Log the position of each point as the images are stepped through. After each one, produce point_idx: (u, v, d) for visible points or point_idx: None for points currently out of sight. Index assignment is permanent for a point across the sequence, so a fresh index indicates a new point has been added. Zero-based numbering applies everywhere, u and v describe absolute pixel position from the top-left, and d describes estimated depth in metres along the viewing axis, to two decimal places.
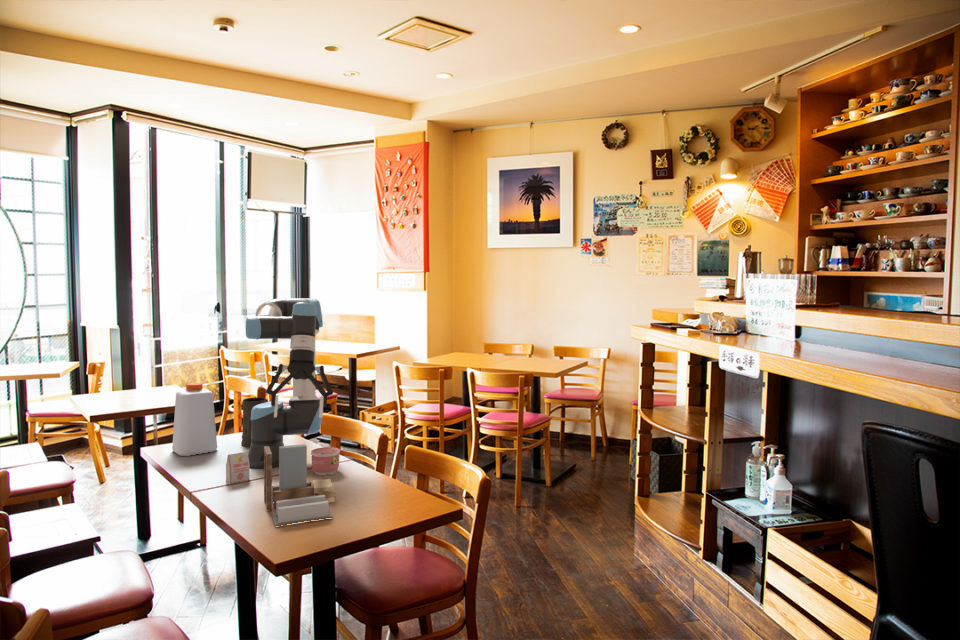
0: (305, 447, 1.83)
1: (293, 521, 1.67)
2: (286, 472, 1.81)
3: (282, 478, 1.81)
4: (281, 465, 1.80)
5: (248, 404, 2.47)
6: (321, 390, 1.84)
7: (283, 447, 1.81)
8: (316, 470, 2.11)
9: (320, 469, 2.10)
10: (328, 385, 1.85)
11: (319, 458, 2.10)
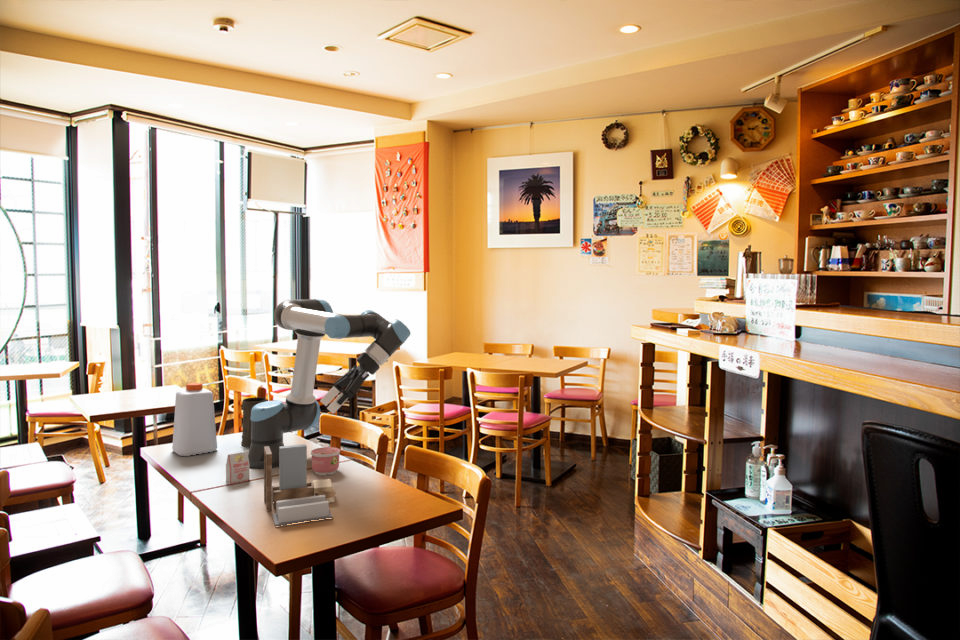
0: (305, 447, 1.83)
1: (293, 521, 1.67)
2: (286, 472, 1.81)
3: (282, 478, 1.81)
4: (281, 465, 1.81)
5: (248, 404, 2.47)
6: None
7: (283, 447, 1.81)
8: (316, 470, 2.11)
9: (320, 469, 2.10)
10: None
11: (319, 458, 2.10)
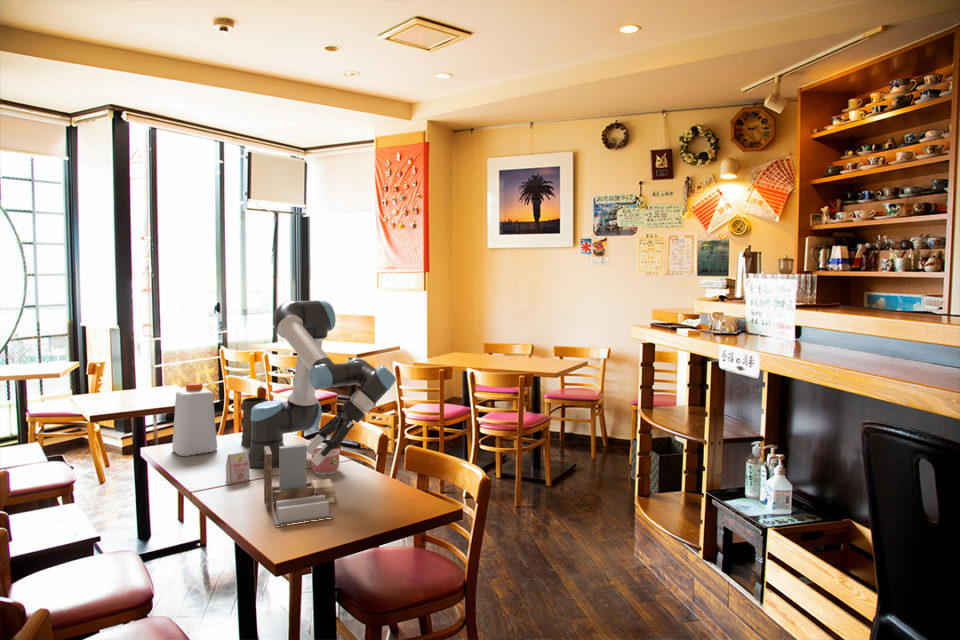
0: (305, 447, 1.83)
1: (293, 521, 1.67)
2: (286, 472, 1.81)
3: (282, 478, 1.81)
4: (281, 465, 1.80)
5: (248, 404, 2.47)
6: None
7: (283, 447, 1.81)
8: (316, 470, 2.11)
9: (320, 469, 2.10)
10: None
11: None
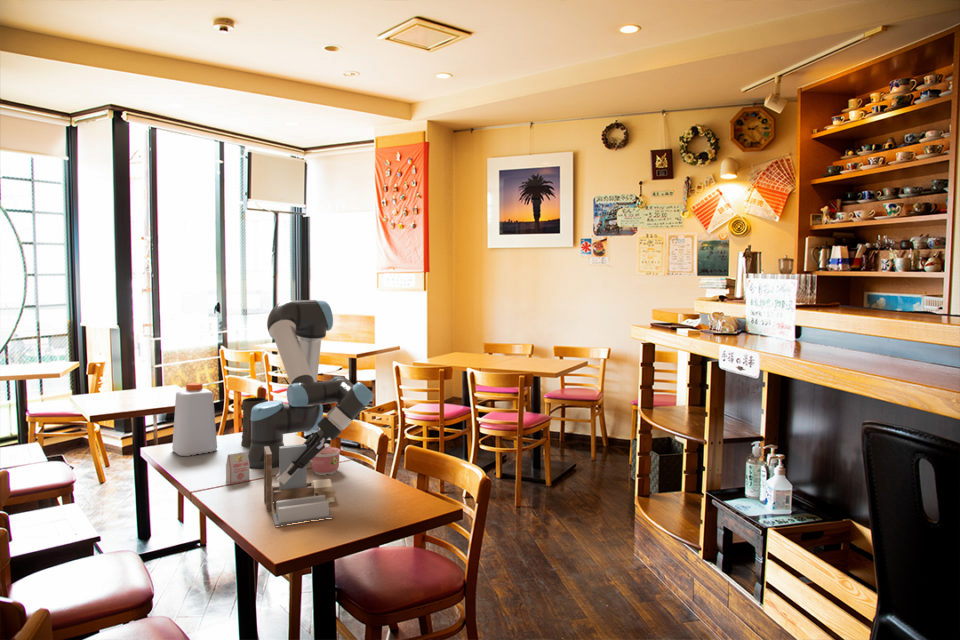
0: (305, 447, 1.83)
1: (293, 521, 1.67)
2: None
3: None
4: (281, 465, 1.80)
5: (248, 404, 2.47)
6: None
7: (283, 447, 1.81)
8: (316, 470, 2.11)
9: (320, 469, 2.10)
10: None
11: (319, 458, 2.10)
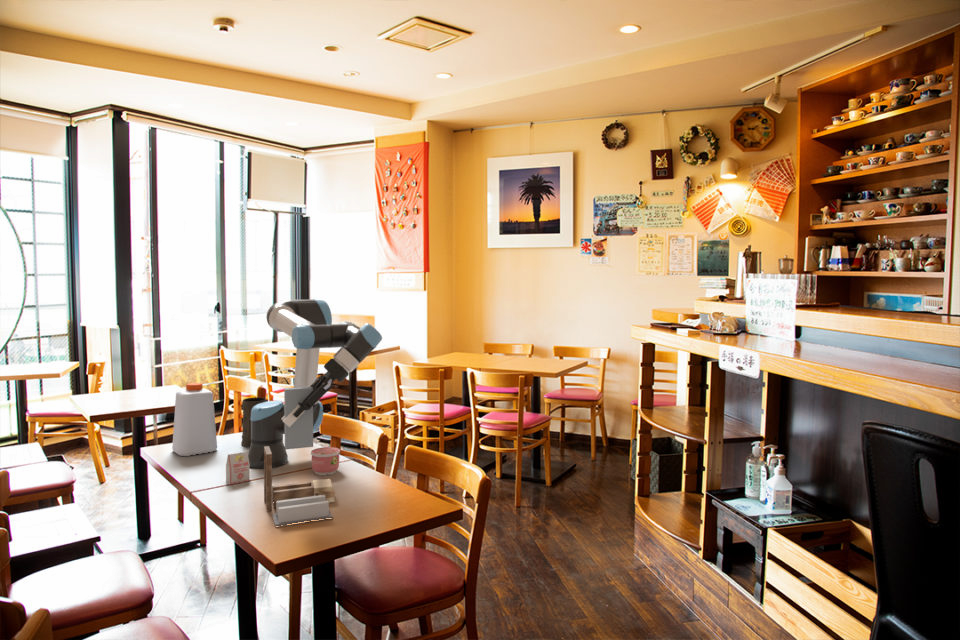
0: (311, 389, 1.76)
1: (293, 521, 1.67)
2: None
3: None
4: (286, 407, 1.73)
5: (248, 404, 2.47)
6: None
7: (288, 389, 1.74)
8: (316, 470, 2.11)
9: (320, 469, 2.10)
10: None
11: (319, 458, 2.10)
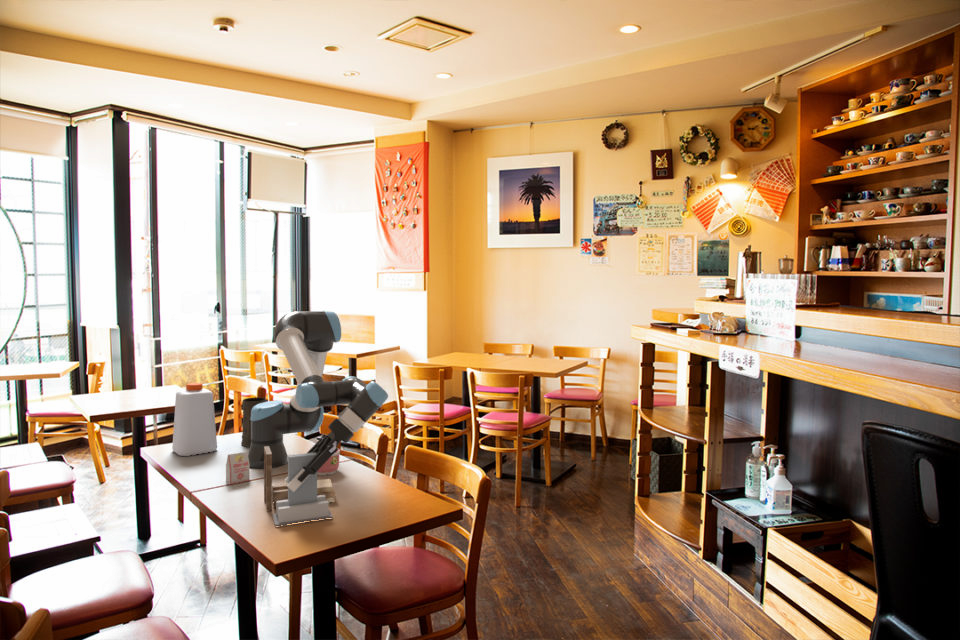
0: None
1: (293, 521, 1.67)
2: None
3: None
4: (290, 475, 1.68)
5: (248, 404, 2.47)
6: None
7: (292, 456, 1.69)
8: None
9: (320, 469, 2.10)
10: None
11: None
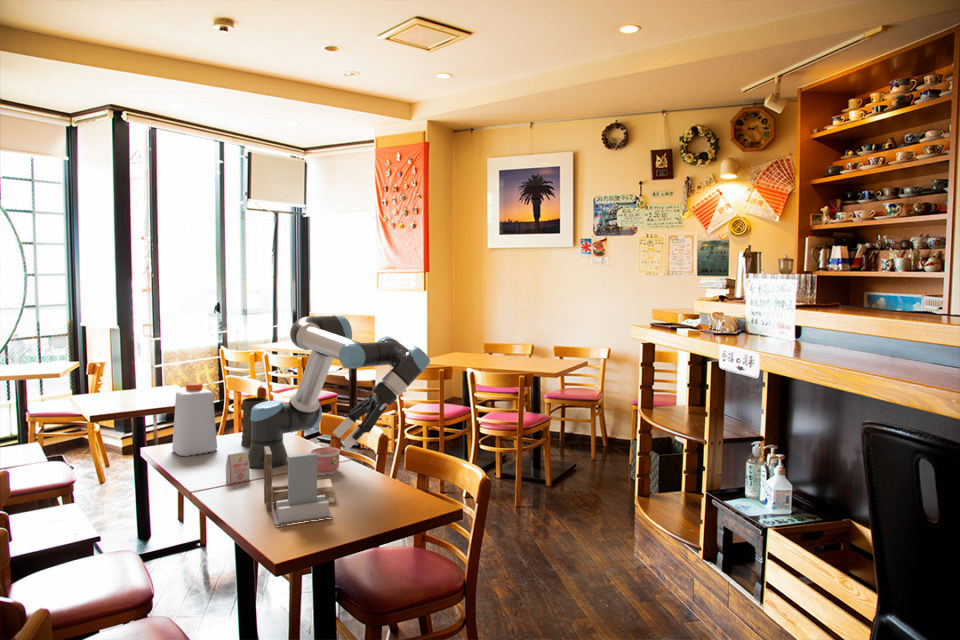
0: (315, 456, 1.71)
1: (293, 521, 1.67)
2: (295, 482, 1.69)
3: (291, 489, 1.69)
4: (290, 475, 1.68)
5: (248, 404, 2.47)
6: None
7: (292, 456, 1.69)
8: None
9: (320, 469, 2.10)
10: None
11: (319, 458, 2.10)
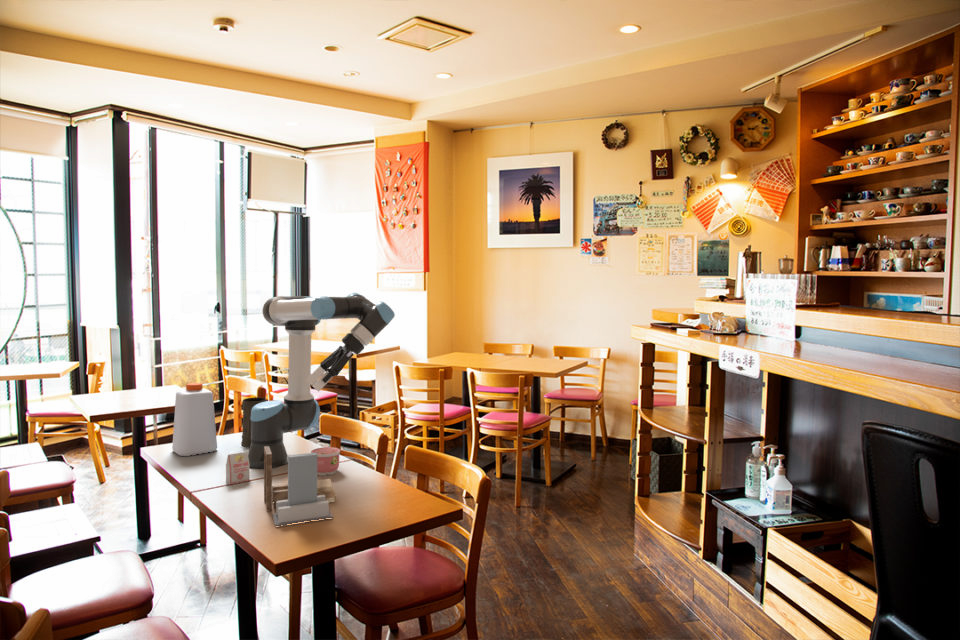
0: (315, 456, 1.71)
1: (293, 521, 1.67)
2: (295, 482, 1.69)
3: (291, 489, 1.69)
4: (290, 475, 1.68)
5: (248, 404, 2.47)
6: None
7: (292, 456, 1.69)
8: None
9: (320, 469, 2.10)
10: None
11: (319, 458, 2.10)
